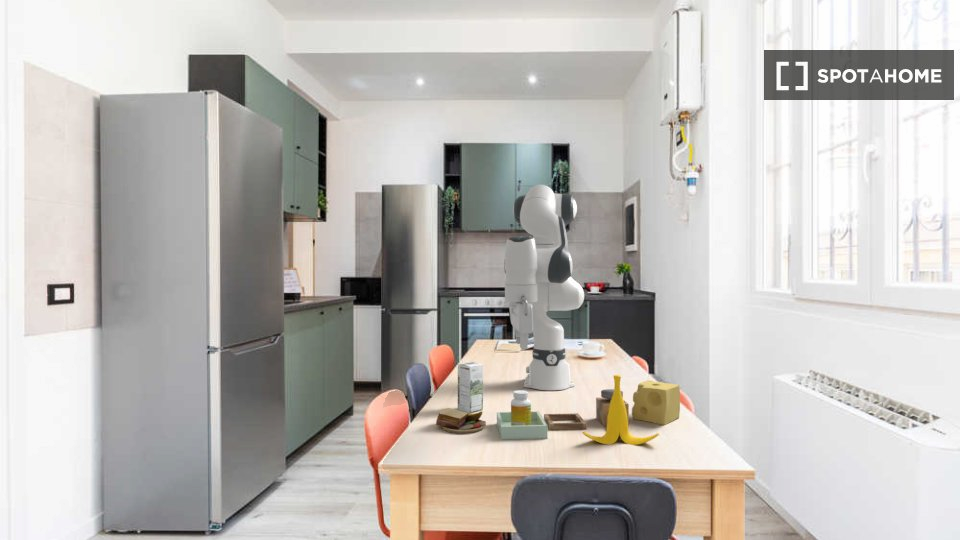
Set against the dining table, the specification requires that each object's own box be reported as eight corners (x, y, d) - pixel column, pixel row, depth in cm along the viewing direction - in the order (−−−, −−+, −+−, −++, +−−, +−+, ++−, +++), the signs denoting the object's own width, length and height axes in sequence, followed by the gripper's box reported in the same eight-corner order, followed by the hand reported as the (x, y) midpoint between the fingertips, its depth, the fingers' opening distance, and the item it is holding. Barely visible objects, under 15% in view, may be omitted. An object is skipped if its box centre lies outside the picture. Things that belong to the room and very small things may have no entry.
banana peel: (580, 445, 135) (580, 378, 135) (609, 426, 151) (609, 366, 151) (646, 458, 126) (646, 386, 126) (670, 437, 141) (670, 373, 141)
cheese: (631, 419, 158) (631, 384, 158) (648, 411, 166) (648, 379, 165) (666, 426, 151) (665, 390, 150) (681, 418, 158) (681, 383, 158)
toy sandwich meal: (473, 437, 142) (472, 419, 142) (429, 431, 148) (429, 413, 148) (493, 425, 153) (493, 408, 153) (451, 419, 159) (451, 403, 159)
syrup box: (470, 406, 172) (470, 361, 172) (483, 410, 168) (483, 363, 168) (457, 410, 168) (456, 363, 168) (470, 413, 164) (470, 366, 164)
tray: (496, 423, 154) (496, 412, 154) (538, 422, 154) (538, 411, 154) (501, 439, 140) (501, 426, 140) (547, 438, 140) (547, 425, 140)
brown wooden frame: (544, 419, 157) (544, 414, 157) (578, 418, 158) (578, 413, 158) (550, 430, 147) (550, 424, 147) (586, 429, 148) (586, 423, 148)
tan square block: (596, 418, 159) (596, 388, 159) (619, 417, 159) (619, 388, 159) (603, 426, 151) (603, 395, 151) (628, 425, 151) (628, 394, 151)
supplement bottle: (529, 431, 144) (529, 394, 144) (509, 429, 145) (509, 393, 145) (532, 425, 149) (531, 389, 149) (512, 424, 150) (512, 389, 150)
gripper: (538, 297, 137) (539, 352, 137) (527, 293, 157) (528, 340, 157) (513, 297, 136) (514, 352, 137) (506, 293, 157) (506, 341, 157)
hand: (521, 346), depth 147 cm, fingers open, 8 cm apart
